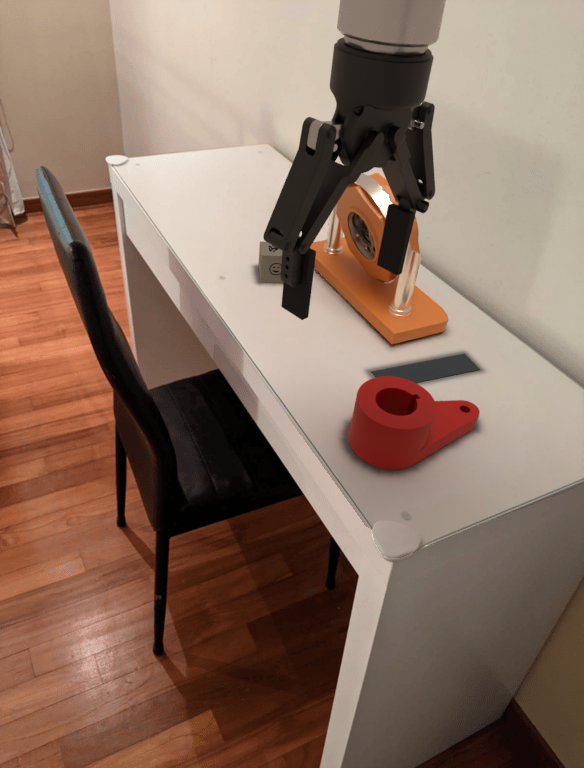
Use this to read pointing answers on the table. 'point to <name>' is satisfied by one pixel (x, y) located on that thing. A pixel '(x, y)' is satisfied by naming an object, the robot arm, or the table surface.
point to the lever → (404, 422)
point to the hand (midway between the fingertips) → (344, 289)
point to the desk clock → (375, 265)
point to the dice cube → (269, 263)
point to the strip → (430, 369)
